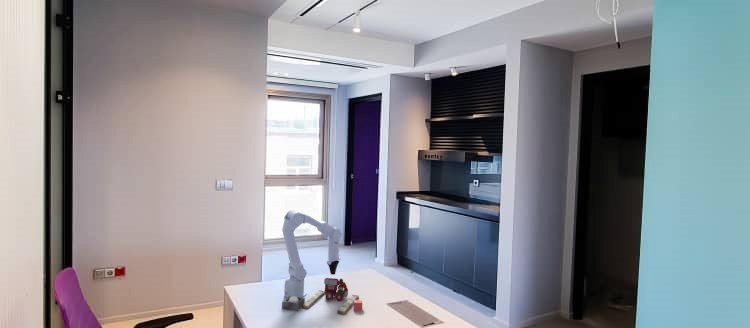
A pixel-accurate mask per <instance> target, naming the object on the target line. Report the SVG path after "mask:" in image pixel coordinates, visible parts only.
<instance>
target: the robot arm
mask: <svg viewBox="0 0 750 328" xmlns="http://www.w3.org/2000/svg"><path fill="white" fill-rule="evenodd" d="M302 224H309V225H311V226H313V227H315V228H317V231H318V232H319V233H322V234H324V235H326V236H327V237H328V250H327V251H328V254H327V256H328V257H327V260H326V264H327V266H328V268H329V272H330V275H333V276H334V275H336V273H337V268H338V265H339V263H340V260H341V259H342V258H341V257H340V254H339V253H340V238H341V237H342V235H343V234H342V231H341V229H340V228H337V227H335V225H334V224H330V223H328V221H326V220H324V221H318V219H315V218H313V217H311V216H309V215H307V214H305V213H303V212H298V211H295V210H293V209H292V210H289V211H288V212H286V214H285V215H284V221H283V226H282V229H281V231H282V236H283V240H284V243H285V244H284V245H285V247H286V248H285V249H286V251H287V256H288V260H289V262H288V274H289V276H290V277H287V278H286V279H285V281H284V288H283V289H284V290H283V291H284V294H283V297H284V298H288V297H289V296H296V297H301V298H305V296H306V295H307V294H308V293H306V292H304V291H305V278H306V277H307V270H306V269H305V267H304V265H303V263H302V261H301V259H300V254H299V251H298V246H297V241H296V237H295V231H296V229H298V228H299V227H300V226H301V225H302Z"/></svg>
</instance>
